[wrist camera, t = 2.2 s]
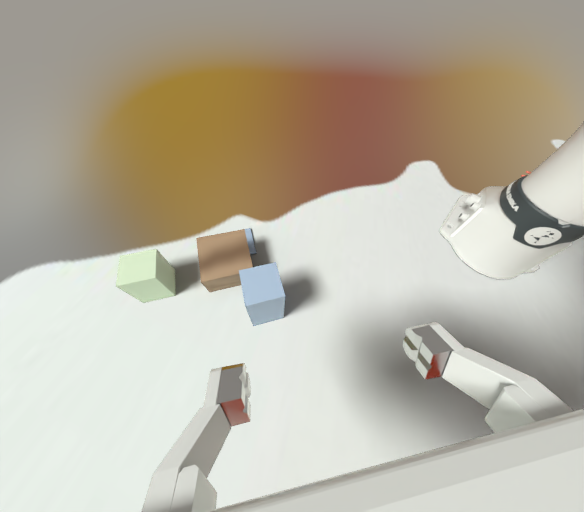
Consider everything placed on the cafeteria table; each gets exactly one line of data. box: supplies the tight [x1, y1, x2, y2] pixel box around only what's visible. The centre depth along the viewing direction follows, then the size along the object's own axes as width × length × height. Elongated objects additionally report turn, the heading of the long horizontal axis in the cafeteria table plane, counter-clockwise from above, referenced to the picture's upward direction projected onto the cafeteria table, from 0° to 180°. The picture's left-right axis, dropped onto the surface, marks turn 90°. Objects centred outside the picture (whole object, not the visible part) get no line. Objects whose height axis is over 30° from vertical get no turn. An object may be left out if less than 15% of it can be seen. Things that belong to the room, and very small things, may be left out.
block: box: [116, 249, 176, 303], centre depth 34 cm, size 5×5×7 cm
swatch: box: [245, 228, 256, 255], centre depth 42 cm, size 6×6×1 cm
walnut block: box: [197, 229, 253, 292], centre depth 37 cm, size 8×8×5 cm
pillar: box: [239, 262, 285, 326], centre depth 32 cm, size 5×5×10 cm
